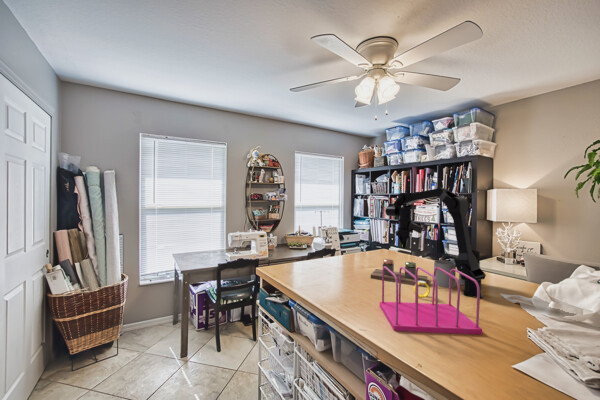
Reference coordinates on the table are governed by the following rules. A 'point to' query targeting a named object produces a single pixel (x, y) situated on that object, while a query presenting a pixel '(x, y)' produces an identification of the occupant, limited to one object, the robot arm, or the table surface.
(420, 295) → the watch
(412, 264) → the olive plunger
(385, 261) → the terracotta plunger
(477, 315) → the file sorter
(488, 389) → the table surface
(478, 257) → the glass holder
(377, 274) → the dark brown stand
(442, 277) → the cup
